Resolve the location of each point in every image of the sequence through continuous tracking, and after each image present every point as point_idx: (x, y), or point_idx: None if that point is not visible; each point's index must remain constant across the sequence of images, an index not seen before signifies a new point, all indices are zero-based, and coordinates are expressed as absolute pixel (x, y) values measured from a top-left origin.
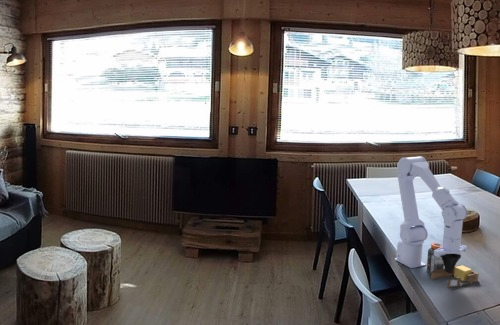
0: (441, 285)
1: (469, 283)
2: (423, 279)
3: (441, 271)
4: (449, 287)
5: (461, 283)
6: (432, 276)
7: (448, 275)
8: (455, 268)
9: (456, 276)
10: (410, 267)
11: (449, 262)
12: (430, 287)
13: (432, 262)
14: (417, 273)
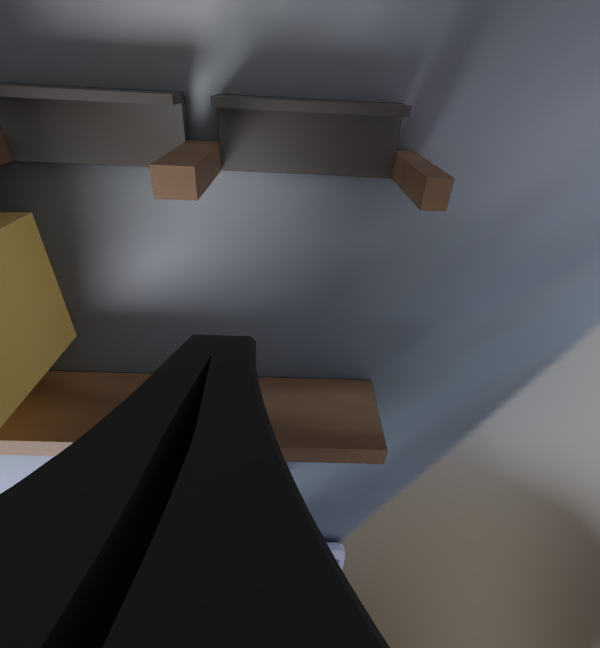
0: (416, 249)
1: (7, 85)
2: (445, 407)
3: None
4: (401, 151)
5: (129, 161)
6: (373, 403)
7: (124, 374)
8: (7, 407)
9: (59, 319)
10: (344, 550)
11: (318, 548)
12: (581, 267)
13: None
14: (376, 485)
